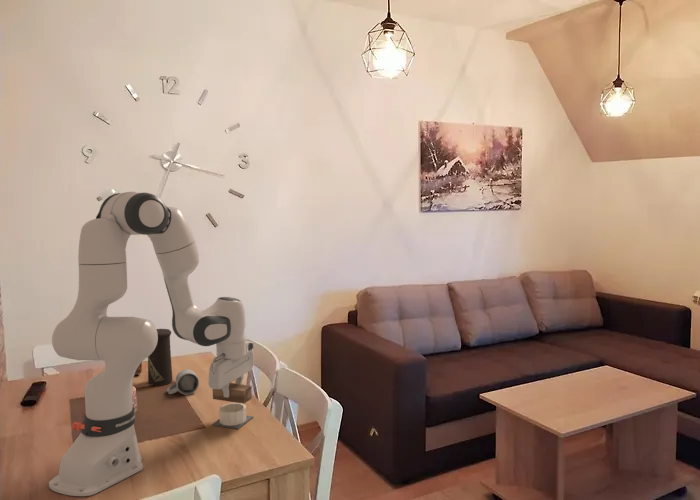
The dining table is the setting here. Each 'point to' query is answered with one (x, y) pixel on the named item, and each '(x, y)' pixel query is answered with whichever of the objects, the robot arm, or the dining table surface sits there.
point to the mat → (233, 425)
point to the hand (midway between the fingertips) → (232, 393)
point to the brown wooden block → (235, 393)
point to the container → (160, 360)
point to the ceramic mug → (185, 383)
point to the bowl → (232, 414)
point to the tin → (138, 369)
